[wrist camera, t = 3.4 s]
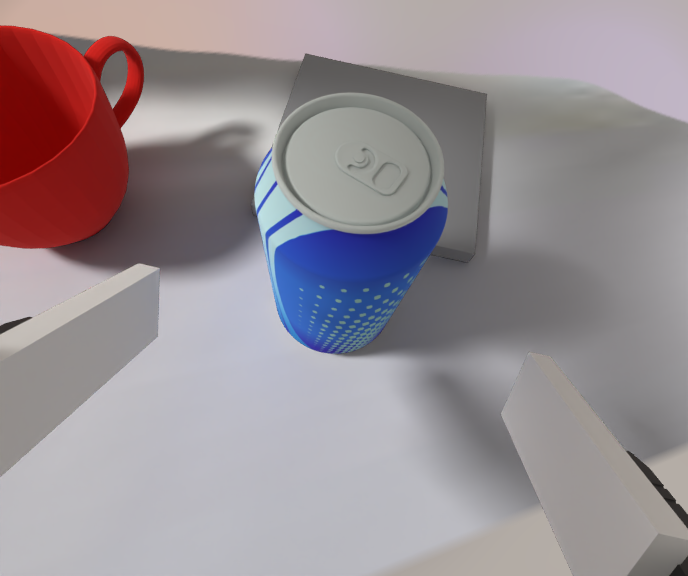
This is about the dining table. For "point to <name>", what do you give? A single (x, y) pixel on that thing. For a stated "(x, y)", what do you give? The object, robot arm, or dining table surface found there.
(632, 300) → the dining table surface
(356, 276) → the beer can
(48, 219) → the ceramic cup
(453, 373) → the dining table surface
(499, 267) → the dining table surface
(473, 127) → the slate tile
